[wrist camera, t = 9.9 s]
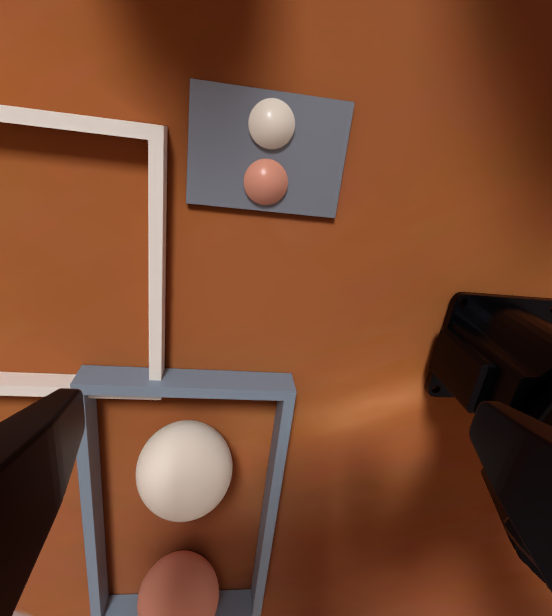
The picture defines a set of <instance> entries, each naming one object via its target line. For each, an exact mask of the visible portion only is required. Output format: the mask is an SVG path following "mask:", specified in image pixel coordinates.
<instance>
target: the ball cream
mask: <svg viewBox="0 0 552 616" xmlns="http://www.w3.org/2000/svg"><path fill="white" fill-rule="evenodd" d="M232 466H233V463H232V457H231V453H230V450H229V447H228V445H227V443H226V441H225V439H224V438H223V437H222V435H221V434H220V433H219V432H218V431H217V430H215V429H214V428H213V427H211V426H209V425H207V424H205V423H203V422H199V421H194V420H183V421H177V422H174V423H171V424H169V425H166V426H164V427H163V428H161V429H160V430H158V431H157V432H156V433H155V434H154V435H152V437H151V438H150V439H149V440H148V441H147V442H146V444H145V446H144V447H143V449H142V451H141V453H140V455H139V458H138V462H137V467H136V484H137V488H138V492H139V494H140V497H141V499H142V501H143V502H144V503H145V505H146V506H147V507H148V508H149V509H150V510H151V511H152V512H153V513H154V514H156V515H157V516H159V517H161V518H163V519H166V520H169V521H174V522H187V521H192V520H195V519H198V518H200V517H202V516H204V515H206V514H207V513H209V512H210V511H212V510H213V509H214V508H215V507H216V506H217V505H218V504H219V503H220V501H221V500H222V499H223V497H224V496H225V494H226V492H227V490H228V487H229V485H230V482H231V477H232Z"/></svg>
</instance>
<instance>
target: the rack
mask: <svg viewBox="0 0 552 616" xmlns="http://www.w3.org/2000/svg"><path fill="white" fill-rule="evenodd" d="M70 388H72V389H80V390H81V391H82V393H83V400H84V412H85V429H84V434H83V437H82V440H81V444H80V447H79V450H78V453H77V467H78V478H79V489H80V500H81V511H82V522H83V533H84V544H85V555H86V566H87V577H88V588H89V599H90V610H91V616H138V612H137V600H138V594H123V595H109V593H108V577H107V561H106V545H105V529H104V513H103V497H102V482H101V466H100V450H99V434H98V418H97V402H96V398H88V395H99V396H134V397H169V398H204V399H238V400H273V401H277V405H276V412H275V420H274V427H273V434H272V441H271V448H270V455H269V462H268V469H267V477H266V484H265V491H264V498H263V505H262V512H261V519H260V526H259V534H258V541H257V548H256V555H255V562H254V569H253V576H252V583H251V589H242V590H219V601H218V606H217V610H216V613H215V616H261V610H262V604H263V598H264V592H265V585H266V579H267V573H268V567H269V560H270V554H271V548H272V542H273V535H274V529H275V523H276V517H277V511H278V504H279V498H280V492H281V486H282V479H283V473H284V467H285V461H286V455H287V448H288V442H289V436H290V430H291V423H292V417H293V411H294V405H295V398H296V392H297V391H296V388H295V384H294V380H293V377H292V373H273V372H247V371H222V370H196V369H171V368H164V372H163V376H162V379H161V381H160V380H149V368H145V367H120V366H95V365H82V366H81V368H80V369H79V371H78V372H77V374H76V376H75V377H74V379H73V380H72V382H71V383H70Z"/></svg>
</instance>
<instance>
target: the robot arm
mask: <svg viewBox="0 0 552 616" xmlns="http://www.w3.org/2000/svg"><path fill="white" fill-rule="evenodd" d="M462 299H464V302H463V303H462V304H460V305H459V302H460V301H461V300H462ZM551 307H552V299H551V298H538V297H524V296H511V295H498V294H485V293H471V292H458V293H456V294H455V295H454V296H453V297H452V299H451V302H450V306H449V309H448V312H447V315H446V319H445V322H444V325H443V329H442V330H441V331H440V334H439V338H438V341H437V344H436V348H435V351H434V354H433V358H432V361H431V364H430V372H429V375H428V378H427V382H426V385H425V389H426V391H427V392H428V393H429V395H431V396H434V397H455V398H456V399H457V400H458V401H459V402H460V404H461V405H462V406H463V407H464V408H465V409H466V410H467V412H469V413H474V414H475V415H474V418H473V421H472V423H471V426H470V430H469V434H470V439H471V441H472V443H473V446H474V448H475V450H476V452H477V454H478V457H479V459H480V461H481V463H482V465H483V469H482V470H481V474H482V476H483V478H484V481H485V483H486V485H487V488H488V490H489V493H490V495H491V497H492V500H493V502H494V504H495V507H496V509H497V512H498V514H499V516H500V519H501V521H502V523H503V526H504V528H505V531H506V533H507V535H508V538H509V540H510V541H511V543H512V545H513V547H514V549H515V550H516V552H517V554H518V556H519V558H520V559H521V560H522V561H523V562H524V563H525V564H526V565H528V567H529V568H530V569H531V570H532V571H533V572H534V573H535V574H536V575H537V576H538V577H539V578H540V579H541V580H542V581H543V582H544V583H546V585H547V587H548V588H549V589H550V590H551V592H552V309H551V310H550V308H551ZM435 386H437V387H436V388H435V389H433V387H435ZM84 429H85V412H84V400H83V393H82V391H81V390H80V389H72V388H60V389H58V390H56V391H54V392H52V393H50V394H49V395H47V396H45V397H43V398H42V399H40V400H38V401H36V402H35V403H33V404H31V405H29V406H28V407H26V408H24V409H22V410H21V411H19V412H17V413H15V414H14V415H12V416H10V417H8V418H7V419H5V420H3V421H1V422H0V616H12V615H13V612H14V610H15V608H16V606H17V603H18V601H19V599H20V597H21V594H22V592H23V590H24V588H25V585H26V583H27V581H28V579H29V576H30V574H31V572H32V569H33V567H34V565H35V563H36V560H37V558H38V556H39V554H40V551H41V549H42V547H43V545H44V542H45V540H46V538H47V536H48V533H49V531H50V529H51V527H52V524H53V522H54V520H55V518H56V515H57V513H58V510H59V508H60V506H61V503H62V500H63V497H64V494H65V492H66V488H67V485H68V482H69V479H70V476H71V472H72V469H73V466H74V463H75V460H76V456H77V453H78V450H79V447H80V444H81V440H82V437H83V434H84Z"/></svg>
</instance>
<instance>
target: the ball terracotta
mask: <svg viewBox="0 0 552 616" xmlns="http://www.w3.org/2000/svg"><path fill="white" fill-rule="evenodd" d="M218 601H219V585H218V580H217V576H216V573H215V571H214V569H213V567H212V566H211V564H210V563H209V562H208V561H207V560H206V559H205V558H204V557H203V556H201V555H200V554H198V553H195V552H192V551H187V550H180V551H175V552H172V553H169V554H167V555H165V556H163V557H162V558H160V559H159V560H158V561H157V562H156V563H155V564H154V565H153V566H152V567H151V568H150V570H149V571H148V572H147V574H146V575H145V577H144V579H143V581H142V584H141V586H140V590H139V594H138V600H137V612H138V616H215V613H216V610H217V606H218Z"/></svg>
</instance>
